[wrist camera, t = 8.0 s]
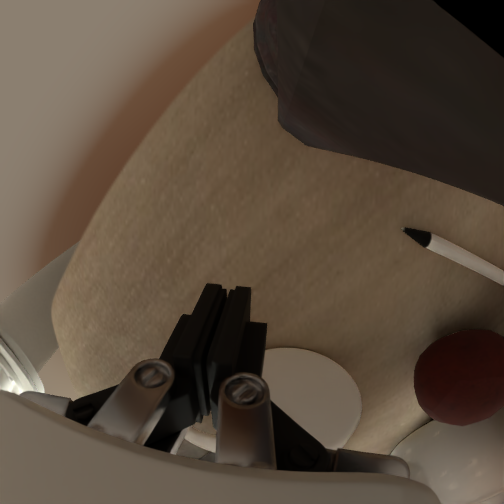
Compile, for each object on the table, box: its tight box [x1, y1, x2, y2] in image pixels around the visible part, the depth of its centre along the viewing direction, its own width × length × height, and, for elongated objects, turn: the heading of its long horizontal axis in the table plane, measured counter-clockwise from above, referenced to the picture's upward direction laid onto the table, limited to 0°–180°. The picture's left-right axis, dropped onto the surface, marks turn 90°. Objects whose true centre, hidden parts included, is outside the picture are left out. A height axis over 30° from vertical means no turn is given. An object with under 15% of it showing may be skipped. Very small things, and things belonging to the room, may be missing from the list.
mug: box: [184, 348, 362, 453], centre depth 17 cm, size 12×10×8 cm
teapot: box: [390, 407, 504, 504], centre depth 16 cm, size 19×18×14 cm
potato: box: [414, 329, 504, 426], centre depth 14 cm, size 7×10×6 cm
